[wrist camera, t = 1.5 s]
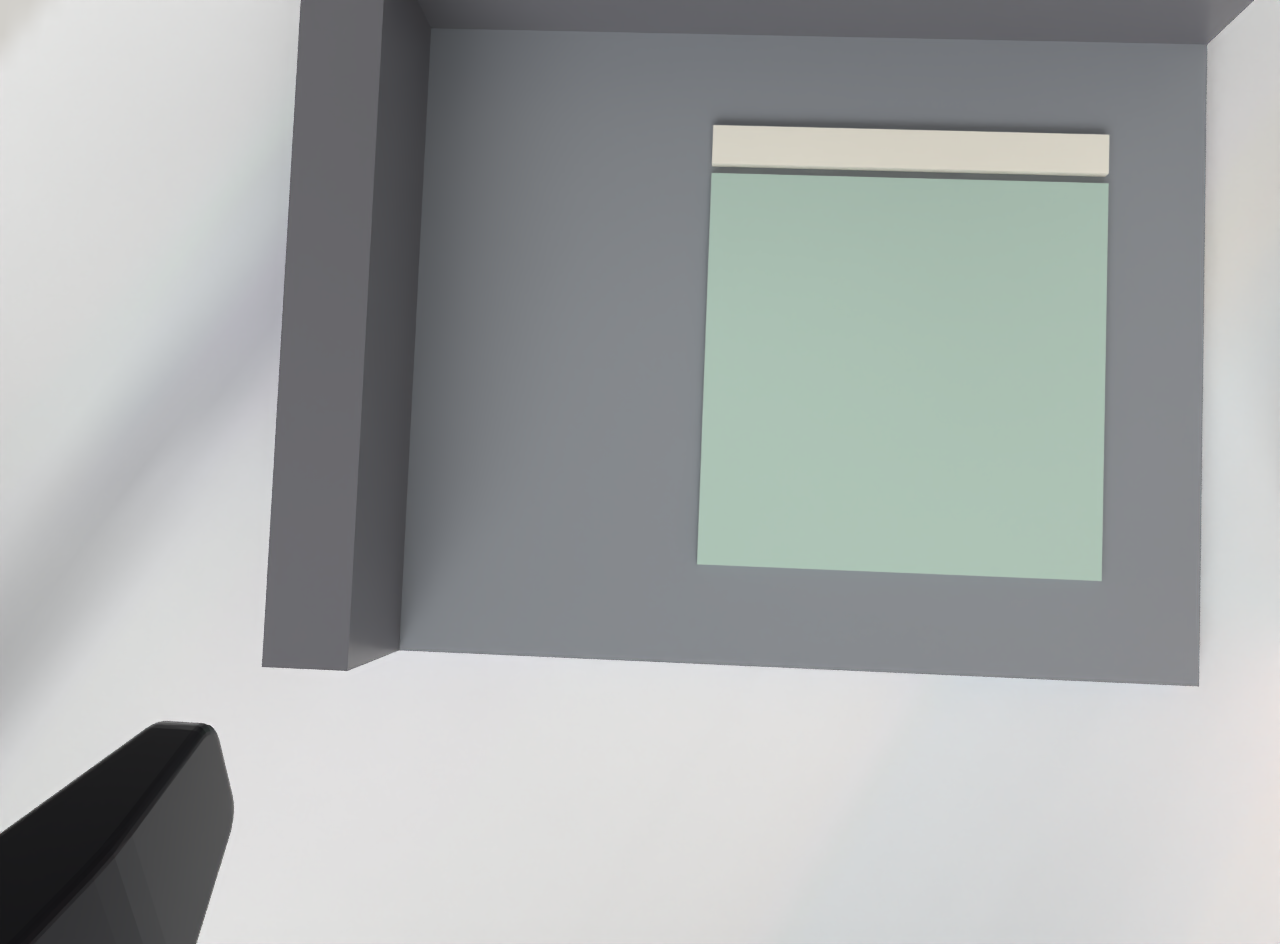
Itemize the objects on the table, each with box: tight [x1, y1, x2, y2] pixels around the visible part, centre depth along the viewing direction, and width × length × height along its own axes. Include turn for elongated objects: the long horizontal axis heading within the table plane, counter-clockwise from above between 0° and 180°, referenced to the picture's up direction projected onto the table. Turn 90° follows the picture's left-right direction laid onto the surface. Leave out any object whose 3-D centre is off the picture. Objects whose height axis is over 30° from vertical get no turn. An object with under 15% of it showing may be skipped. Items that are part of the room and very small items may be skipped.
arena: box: [262, 0, 1254, 686], centre depth 22 cm, size 14×18×4 cm
